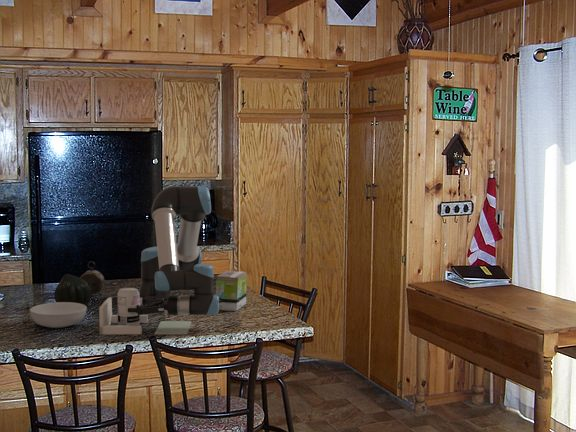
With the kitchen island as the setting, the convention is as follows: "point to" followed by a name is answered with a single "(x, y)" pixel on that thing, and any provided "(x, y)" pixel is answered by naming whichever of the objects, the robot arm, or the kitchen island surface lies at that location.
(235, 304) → the tea box
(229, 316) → the kitchen island surface
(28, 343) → the kitchen island surface
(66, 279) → the squash
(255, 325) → the kitchen island surface
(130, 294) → the supplement can
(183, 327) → the sage mat
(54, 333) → the kitchen island surface
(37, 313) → the serving bowl
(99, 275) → the alarm clock
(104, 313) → the open box
